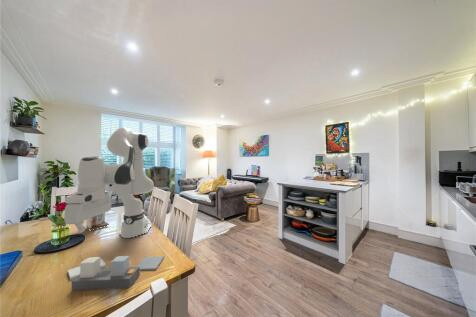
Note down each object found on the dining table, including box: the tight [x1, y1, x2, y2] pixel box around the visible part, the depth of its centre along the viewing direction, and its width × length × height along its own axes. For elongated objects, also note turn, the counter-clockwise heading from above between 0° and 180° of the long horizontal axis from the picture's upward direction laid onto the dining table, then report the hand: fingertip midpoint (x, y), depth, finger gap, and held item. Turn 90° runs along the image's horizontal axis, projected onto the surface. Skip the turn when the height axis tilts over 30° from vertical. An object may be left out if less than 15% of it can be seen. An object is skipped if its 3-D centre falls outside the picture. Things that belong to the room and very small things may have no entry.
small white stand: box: [85, 184, 110, 230], centre depth 134 cm, size 11×11×35 cm
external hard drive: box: [67, 258, 107, 281], centre depth 81 cm, size 2×8×12 cm
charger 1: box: [79, 256, 101, 278], centre depth 71 cm, size 4×5×8 cm
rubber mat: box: [135, 256, 165, 272], centre depth 85 cm, size 10×10×1 cm
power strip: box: [71, 266, 141, 292], centre depth 72 cm, size 8×22×4 cm, turn 94°
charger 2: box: [110, 255, 130, 276], centre depth 72 cm, size 4×5×6 cm
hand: (91, 227), depth 72 cm, fingers open, 8 cm apart
